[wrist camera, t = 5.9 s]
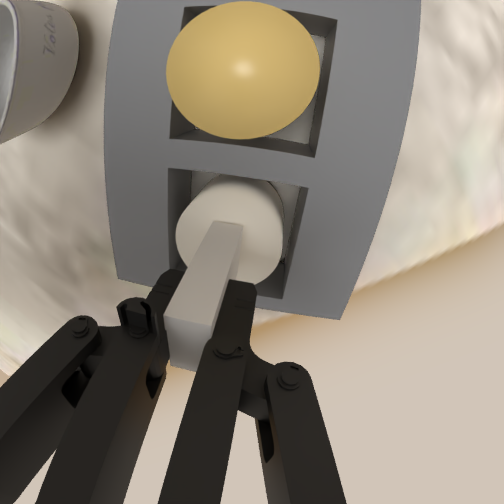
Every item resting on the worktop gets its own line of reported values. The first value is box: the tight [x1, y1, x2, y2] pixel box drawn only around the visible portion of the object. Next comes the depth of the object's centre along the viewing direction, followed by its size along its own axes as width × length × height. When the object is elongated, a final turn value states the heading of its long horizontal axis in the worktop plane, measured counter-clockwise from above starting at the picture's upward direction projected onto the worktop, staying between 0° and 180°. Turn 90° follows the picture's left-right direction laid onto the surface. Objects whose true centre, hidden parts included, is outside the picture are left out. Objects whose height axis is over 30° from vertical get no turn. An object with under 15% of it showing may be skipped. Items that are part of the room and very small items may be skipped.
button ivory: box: [176, 174, 284, 285], centre depth 16 cm, size 6×6×4 cm
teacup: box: [0, 0, 79, 144], centre depth 9 cm, size 14×11×8 cm
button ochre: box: [166, 1, 320, 139], centre depth 10 cm, size 6×6×4 cm
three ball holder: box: [104, 0, 421, 320], centre depth 12 cm, size 15×26×4 cm, turn 173°
